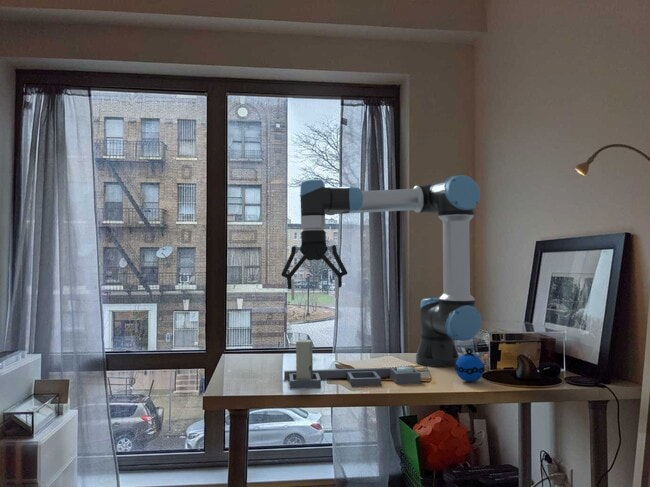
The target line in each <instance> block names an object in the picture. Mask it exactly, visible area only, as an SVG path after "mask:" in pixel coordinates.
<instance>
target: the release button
mask: <svg viewBox="0 0 650 487" xmlns="http://www.w3.org/2000/svg"><path fill="white" fill-rule="evenodd" d="M396 368H397V372H398V373H413V368H412V367H411V366H403V365H402V366H397V367H396Z"/></svg>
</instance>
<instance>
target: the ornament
mask: <svg viewBox="0 0 650 487" xmlns="http://www.w3.org/2000/svg"><path fill="white" fill-rule="evenodd" d="M469 351H470V352H469ZM454 370H455V372H456V374H457V376H458V377H459V379H461V380H462V381H464V382H467V383H474V382H477V381H479V380H480V379H481V378H482V376H483V374H484V373H485V364H484V363H483V361H482V359H481V358H480V357H478V356H477V355H476V354H474V353H473V350H472V349H471V348H467V349H466V353H464V354H462V355H460V356H459V358H458V360H457V361H456V364H455V366H454Z"/></svg>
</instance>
